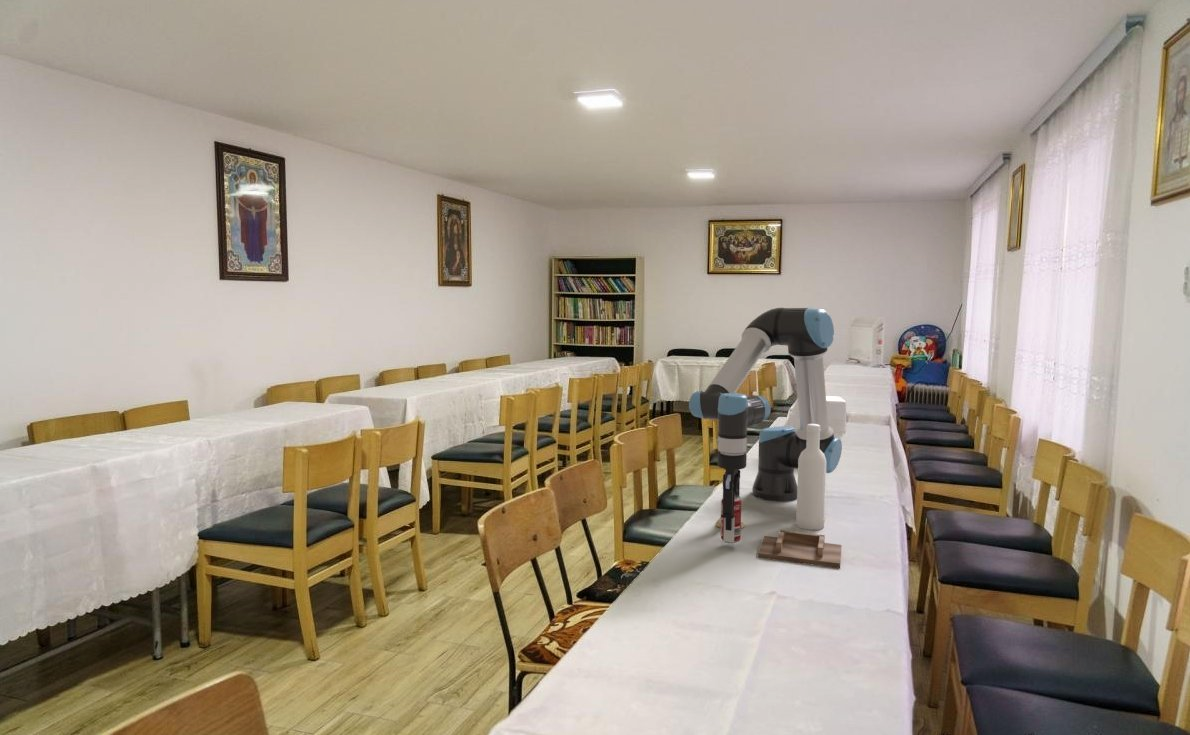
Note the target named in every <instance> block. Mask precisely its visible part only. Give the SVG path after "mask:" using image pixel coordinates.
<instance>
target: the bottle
mask: <svg viewBox="0 0 1190 735" xmlns="http://www.w3.org/2000/svg"><path fill="white" fill-rule="evenodd" d="M806 430H807V441H806V449H804V450H803V451H802V452H801V454H800V456H799V459H798V469H797V499H796V513H795V521H796V522H795V524H796V526H797V527H798V528H800V529H804V530H807V529H808V530H810V531H818V530H823V528H825V519H826V517H825V513H826V512H825V511H826V510H825V508H826V507H825V506H826V505H825V504H826V487H827V486H826V484H827V483H826V482H827V473H826V458H825V455H824V453H823V452H822V451H821V450H820V449H819V443H820V431H821V430H820V425H818V424H808V425H807V428H806Z"/></svg>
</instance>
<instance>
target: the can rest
mask: <svg viewBox="0 0 1190 735" xmlns="http://www.w3.org/2000/svg"><path fill="white" fill-rule="evenodd" d="M757 558H758V559H759V558H760V559H766V560H774V561H783V562H788V561H789V562H791V563H796V564H797V563H798V564H804V563H805V564H804V565H811V564H813V565H812V566H819V565H820V566H821V567H827V568H834V567H835V569H841V562H842V559H841V558H842V544H837V543H829V542H825V534H817V533H816V534H815V533H808V532H799V531H790V530H782V529H780V530H779V534H778V536H769V535H764V536H763V539H762V541H761V544H760V546H759V549H758V551H757ZM820 566H819V567H820Z"/></svg>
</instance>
